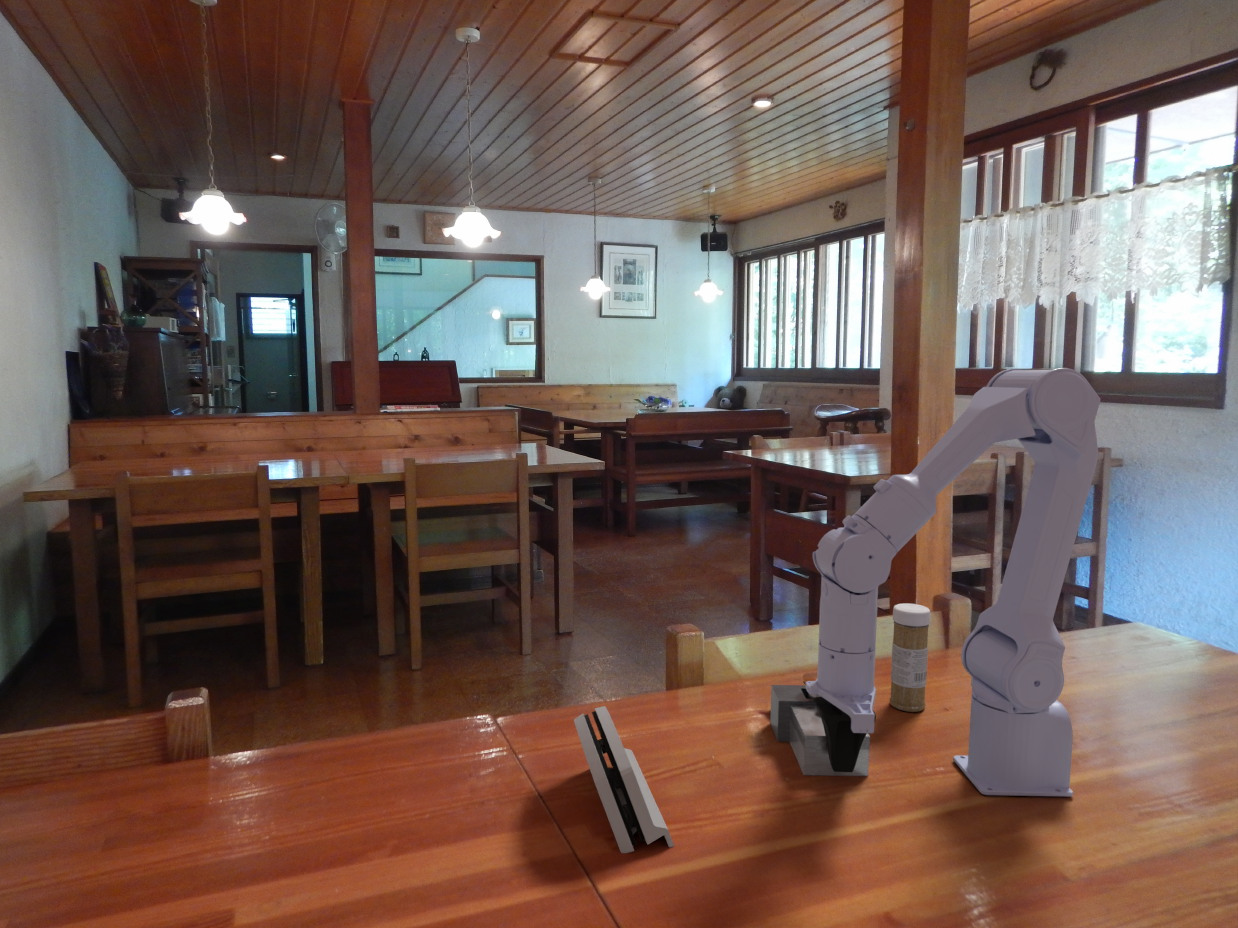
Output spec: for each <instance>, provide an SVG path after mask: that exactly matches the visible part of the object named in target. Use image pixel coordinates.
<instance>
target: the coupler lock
mask: <svg viewBox="0 0 1238 928" xmlns="http://www.w3.org/2000/svg"><path fill="white" fill-rule="evenodd" d="M870 743H871V735H870V733H867V734H866V736H865V738H864V740H863V743H862V745H861V748H860V751H859V755H858V758H857V762H856V765H855V768H854V770H853V772H834V771H833V769H832V767H831V764H830V760H829V755H828V749H827V743H826V736H825V731H824V727H823V723H822V719H821V716H820V713H819V711H818V708H817V706H797V705H791V712H790V742H789V744H790V746H791V748H792V751H793V753H794V756H795V758H796V761H797V762H798V766H799V768H800V770H801V772H802V775H803V776H831V777H832V776H834V777H835V776H836V777H837V776H839V777H842V776H844V777H869V769H870V767H869V766H870V748H871V747H870V745H871V744H870Z"/></svg>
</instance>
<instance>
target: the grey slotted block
mask: <svg viewBox="0 0 1238 928" xmlns="http://www.w3.org/2000/svg"><path fill="white" fill-rule="evenodd" d="M591 714H592V717H593V720H594V722H595V726H596V727H597V730H598V733H599V736H600V739H598V738H597V735H596V732H595V729H594V726H593V724H592V722H591V720H590V716H589V714H584V713H581V714H580V715H579V716H576V717H575V718H574V719H573V722H574V726H575V728H576V731H577V734H578V735H577V736H578V739H579V740H580V744H581V747H582V750H583V754H584V756H585V759H586V761H587V765H588V767H589V771H590V773H591V777H592V779H593V783H594V785H595V788H596V789H597V790H596V791H597V793H598V796H599V798H600V801H601V804H602V806H603V809H604V811H605V813H606V817H607V819H608V822H609V825H610V828H611V830H612V832H613V835H614V838H615V841H616V844H617V846H618V848H619V851H620V853H621V854H628V853H629V854H630V853H632V852H635V849H634V846H637V841H636V839H635V835H634V834H635V833H636V832H637V834H638V837H639V839H640V841H641V843H643V842H646V844H647V845H650V844H651V843H653V842H654V841H656V840H659V838H661V837H663V836H664V839H665V841H666V843H667V846H668V848H673V847H675V845H674V844H675V843H674V842H673V838H672V837H671V834H670V831H669V828H668V826H667V824H666V822H665V820H664V817H663V815H662V813H661V810H660V809H659V807H658V804H657V803H656V800H655V798H654V796H653V794H652V792H651V789H650V787H649V785H648V783H647V780H646V778H645V776H644V774H643V772H642V770H641V767H640V765H639V763H638V761H637V759H636V756H635V754H634V752H633V750H632V749H630V748H625V747H624V745H623V742H622V740H621V738H620V735H619V732H618V730H617V728H616V726H615V724H614V721H613V718H612V716H611V714H610V712H609V710H608V709H607V707H606V706H603V705H602V706H600V707H596V708H595V707H594V711H592V712H591ZM604 754H606V755H607V757H608V759H609V762H610V765H611V768H609V767H608V765H607V761H606V759H605V756H604Z"/></svg>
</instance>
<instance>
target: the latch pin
mask: <svg viewBox="0 0 1238 928" xmlns="http://www.w3.org/2000/svg"><path fill="white" fill-rule="evenodd" d="M817 676H818V672H807V673H804V674H803V675H802V683H803V685H806V682H807V681H816V679H817ZM816 697H821V696H820V695H817V694H809V693H808V699H814V698H816Z"/></svg>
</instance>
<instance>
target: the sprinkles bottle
mask: <svg viewBox="0 0 1238 928" xmlns="http://www.w3.org/2000/svg"><path fill="white" fill-rule="evenodd" d="M892 610H893V611H892V621H893V636H892V638H893V639H892V643H891V645H892V647H891V648H892V649H891V669H890V670H891V671H890V682H891V683H890V686H891V687H890V698H889V704H890V705H891V706H892V707H894V708H895V709H897V710H900V711H902V712H903V711H904V712H908V713H910V712H911V713H914V712H915V713H918V712H922V711H923V710H925V708H926V703H925V702H926V686H927V676H928V674H927V673H928V657H929V655H928V653H929V647H928V644H929V643H928V640H929V639H928V638H929V627H930V624H931V610H930V608H929V607H927V606H924V605H921V604H917V603H907V602H906V603H898V604H894V606H893V609H892Z"/></svg>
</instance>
